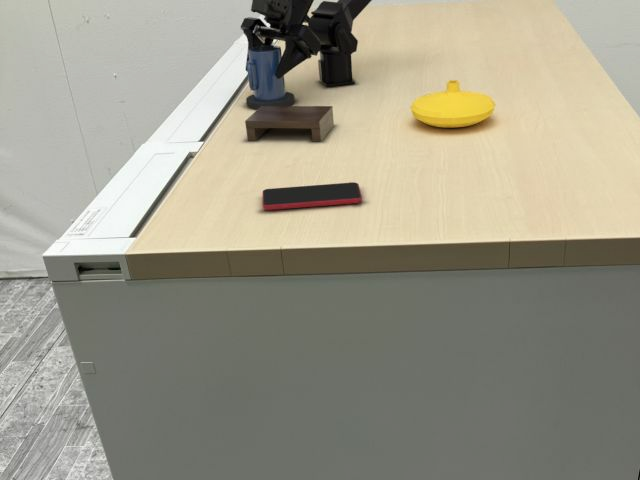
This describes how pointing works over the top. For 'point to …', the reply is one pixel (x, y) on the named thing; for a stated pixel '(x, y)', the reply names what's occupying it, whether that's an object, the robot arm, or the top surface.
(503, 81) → the top surface
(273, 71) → the mug
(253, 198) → the top surface
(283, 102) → the coaster
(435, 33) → the top surface
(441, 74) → the top surface
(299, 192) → the smartphone
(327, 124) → the shelf
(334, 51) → the robot arm
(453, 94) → the vase
